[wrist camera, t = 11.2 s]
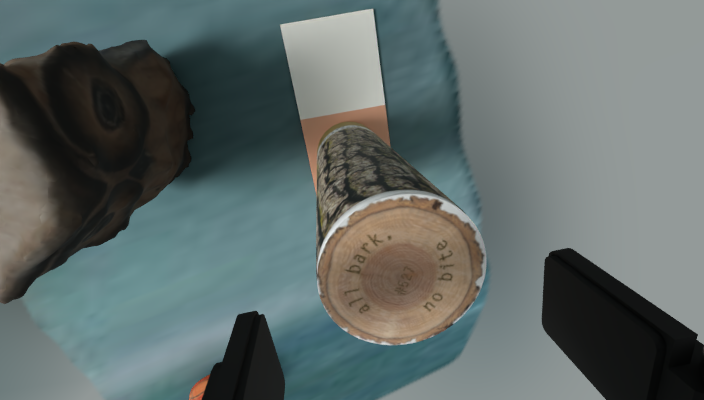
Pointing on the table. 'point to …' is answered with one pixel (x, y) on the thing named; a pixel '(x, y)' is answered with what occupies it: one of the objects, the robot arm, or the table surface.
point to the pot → (199, 389)
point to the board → (335, 75)
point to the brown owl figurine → (82, 150)
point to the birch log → (389, 243)
